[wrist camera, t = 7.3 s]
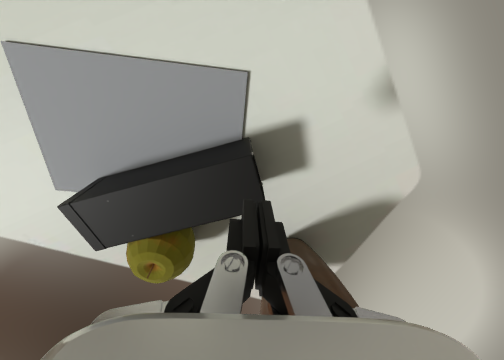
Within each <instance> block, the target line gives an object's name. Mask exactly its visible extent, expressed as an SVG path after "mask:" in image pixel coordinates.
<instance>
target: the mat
mask: <svg viewBox="0 0 504 360" xmlns="http://www.w3.org/2000/svg"><path fill="white" fill-rule="evenodd" d="M1 43H2V46H3V49H4V51H5V54H6V57H7V60H8V62H9V65H10V68H11V70H12V73H13V76H14V79H15V81H16V84H17V87H18V89H19V92H20V95H21V98H22V100H23V103H24V106H25V108H26V111H27V114H28V117H29V119H30V122H31V125H32V127H33V130H34V133H35V136H36V138H37V141H38V144H39V146H40V149H41V152H42V155H43V157H44V160H45V163H46V165H47V168H48V171H49V174H50V176H51V179H52V182H53V184H54V187H55V190H59V191H73V192H79V191H80V190H82V189H83V188H85V187H86V186H88V185H89V184H91V183H92V182H94V181H95V180H97V179H98V178H101V177H105V176H110V175H114V174H117V173H121V172H125V171H128V170H132V169H136V168H139V167H143V166H147V165H150V164H154V163H158V162H161V161H165V160H168V159H172V158H176V157H179V156H183V155H187V154H190V153H194V152H198V151H201V150H205V149H209V148H212V147H216V146H220V145H223V144H227V143H231V142H234V141H238V140H242V130H243V119H244V107H245V96H246V85H247V73H248V72H242V71H234V70H226V69H218V68H210V67H202V66H194V65H187V64H179V63H171V62H163V61H155V60H147V59H139V58H131V57H123V56H115V55H107V54H99V53H91V52H83V51H75V50H67V49H59V48H51V47H43V46H36V45H28V44H20V43H12V42H4V41H1Z"/></svg>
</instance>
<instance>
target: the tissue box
mask: <svg viewBox="0 0 504 360" xmlns="http://www.w3.org/2000/svg"><path fill="white" fill-rule="evenodd" d="M262 185H263V183H262V182H261V180H260V176H259V172H258V169H257V165H256V162H255V158H254V154H253V151H252V147H251V140H250V139H249V138H245V139H242V140H238V141H234V142H231V143H227V144H223V145H220V146H216V147H212V148H209V149H205V150H201V151H198V152H194V153H190V154H187V155H183V156H179V157H176V158H172V159H168V160H165V161H161V162H158V163H154V164H150V165H147V166H143V167H139V168H136V169H132V170H128V171H125V172H121V173H117V174H114V175H110V176H105V177H101V178H98V179H97V180H95V181H94V182H92V183H91V184H89V185H88V186H86V187H85V188H83V189H82V190H80V191H79V192H78V193H76V194H75V195H73V196H72V197H70V198H69V199H67V200H66V201H64V202H63V203H61V204H60V205H59V206H57V207H58V209H59V210H60V211H61V212H62V213H63V214H64V215H65V217H66V218H67V219H68V220H69V221H70V222H71V224H72V225H73V226H74V227H75V228H76V229H77V230H78V232H79V233H80V234H81V235H82V236H83V237H84V239H85V240H86V241H87V242H88V243H89V244H90V245H91V247H92V248H93V249H94V250H95V251H99V250H103V249H106V248H109V247H113V246H117V245H121V244H125V243H129V242H133V241H137V240H141V239H146V238H150V237H154V236H158V235H162V234H166V233H170V232H174V231H178V230H182V229H186V228H191V227H195V226H199V225H203V224H207V223H211V222H215V221H219V220H223V219H227V218H231V217H235V216H240V215H242V209H243V200H244V199H252V200H253V202H256V211H257V205H258V202H261V200H265V196H264V191H263V186H262Z"/></svg>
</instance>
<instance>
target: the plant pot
mask: <svg viewBox="0 0 504 360" xmlns="http://www.w3.org/2000/svg"><path fill="white" fill-rule="evenodd" d="M287 241H288V245H289V249H290V252H291V254H294V255H297V256H299V257H300V258H301V259H302V260H304V262H305V263H306V265H307V267H308V269H309V271H310V273H311V275H312V277H313V278H314V279H315V280H317V281H318V282H319V283H321V284H322V285H323V286H325V287H326V288H328V289H329V290H330V291H332V292H333V293H334V294H336V295H337V296H339V297H340V298H341V299H343V300H344V301H345V302H347V303H348V304H349V305H350V306H351V307H352V308H354V309H355V307H359V306H358V304H357V303H356V302H355V300H354V299H353V297H352V296H351V294H350V293H349V292H348V291H347V289H346V288H345V287H344V285H343V284H342V283H341V281H340V280H339V279H338V277H337V276H336V275H335V274H334V273H333V271H332V270H331V269H330V268H329V267H328V266H327V264H326V263H325V262H324V261H323V260H322V259H321V258H320V257H319V256H318V255H317V254H316V253H315V252H314V251H313V250H312V249H311V248H310V247H309V246H308V245H307V244H306V243H305V242H303V241H302V240H300V239H296V238H288V239H287ZM260 315H270V314H269V310H268V302H267V301H266V300H265V299H264V298H263V296H262V300H261V310H260Z"/></svg>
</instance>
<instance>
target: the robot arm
mask: <svg viewBox="0 0 504 360" xmlns="http://www.w3.org/2000/svg"><path fill="white" fill-rule="evenodd" d="M254 279H255V289H258V290H259V296H263V298H264V299H265V300H266V301H267V302H268V310H269V314H270V315H256V314H241V310H242V304H243V303H244V302H245V301H246V300H247V299H248V298H249V297H250V293H251V289H253V285H254ZM41 360H481V359H480V358H479V357H478V356H477V355H476V354H474V352H472V351H471V350H470V349H469V348H467V347H466V346H465V345H463V344H462V343H460V342H459V341H456V340H455V339H453V338H451V337H449V336H447V335H445V334H443V333H440V332H438V331H435V330H433V329H430V328H428V327H424V326H421V325H417V324H413V323H408V322H406V321H404V320H402V319H400V318H398V317H394V316H390V315H386V314H383V313H379V312H375V311H372V310H367V309H364V308H360V307H355V309H354V308H352V307H351V306H350V305H349V304H348V303H347V302H345V301H344V300H343V299H341V298H340V297H339V296H337V295H336V294H334V293H333V292H332V291H330V290H329V289H328V288H326V287H325V286H323V285H322V284H321V283H319V282H318V281H317V280H315V279H314V278H313V277H312V275H311V273H310V271H309V269H308V267H307V265H306V263H305V262H304V260H302V259H301V258H300V257H299V256H297V255H294V254H291V252H290V249H289V245H288V241H287V238H286V234H285V230H284V226H283V223H282V222H275V219H274V215H273V210H272V206H271V201H266V200H261V202H258V205H257V211H256V202H253V200H252V199H244V200H243V209H242V219H241V220H240V219H230V223H229V233H228V242H227V251H226V252H224V253H222V254H221V255H220V256H219V258H218V260H217V263H216V266H215V268H214V269H212V270H211V271H210V272H208V273H207V274H205V275H204V276H202V277H201V278H199V279H198V280H197V281H195V282H194V283H192V284H191V285H189V286H188V287H187V288H185V289H184V290H182V291H181V292H180V293H178V294H177V295H175V296H174V297H173V298H172V299H170V301H166V302H162V300H158V301H152V302H147V303H142V304H136V305H132V306H126V307H121V308H115V309H111V310H108V311H106V312H104V313H102V314H101V315H100V316H98V317H97V318H96V319H95V320H94V321H93V322H92V324H91V325H90V326H87V327H85V328H83V329H81V330H79V331H77V332H75V333H73V334H71V335H69V336H68V337H66V338H65V339H63V340H62V341H60V342H59V343H58V344H57V345H55V346H54V347H53V348H52V349H51V350H50V351H49V352H48V353H47V354H46V355H45V356H44V357H43V358H42V359H41Z"/></svg>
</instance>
